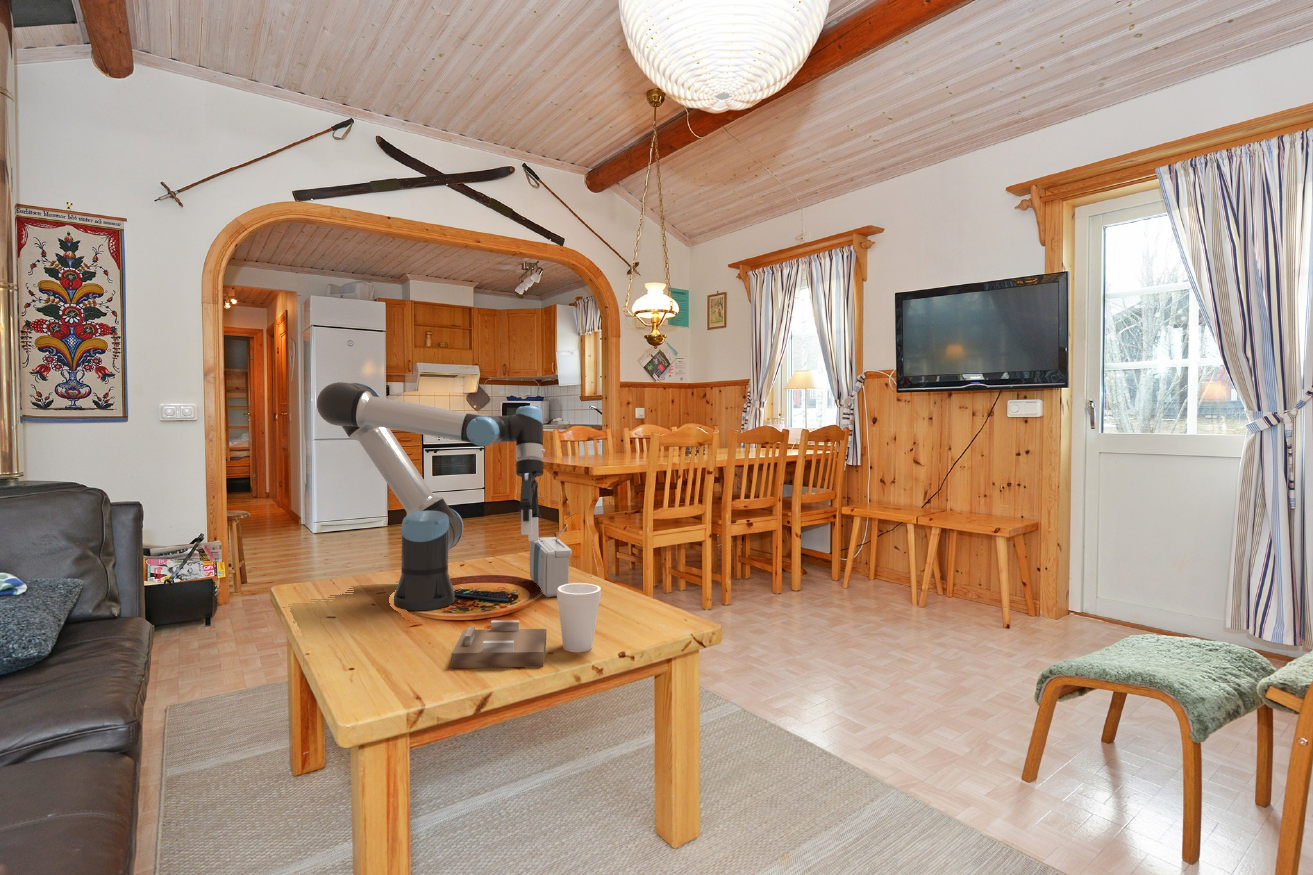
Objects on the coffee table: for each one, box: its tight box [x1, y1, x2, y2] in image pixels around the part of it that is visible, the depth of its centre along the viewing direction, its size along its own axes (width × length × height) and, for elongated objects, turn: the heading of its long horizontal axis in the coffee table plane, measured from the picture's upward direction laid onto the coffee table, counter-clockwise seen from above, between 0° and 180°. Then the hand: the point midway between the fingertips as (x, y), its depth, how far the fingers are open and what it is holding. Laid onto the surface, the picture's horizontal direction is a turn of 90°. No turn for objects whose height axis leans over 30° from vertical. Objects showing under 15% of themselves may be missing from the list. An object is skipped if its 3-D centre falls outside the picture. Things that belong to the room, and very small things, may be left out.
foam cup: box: [556, 582, 602, 653], centre depth 149 cm, size 10×9×13 cm
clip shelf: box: [451, 619, 547, 669], centre depth 144 cm, size 18×14×5 cm
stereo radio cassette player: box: [529, 524, 573, 598], centre depth 197 cm, size 21×8×20 cm, turn 21°
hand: (530, 537), depth 184 cm, fingers open, 13 cm apart
